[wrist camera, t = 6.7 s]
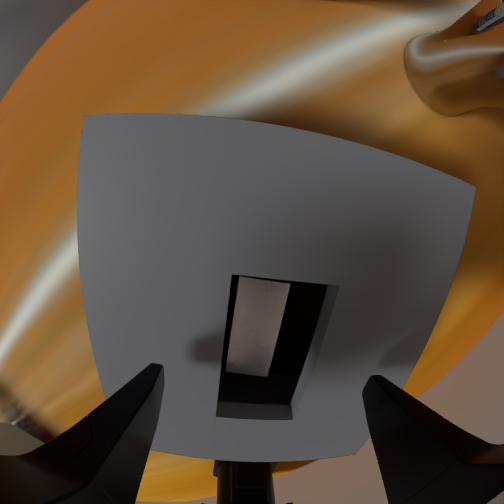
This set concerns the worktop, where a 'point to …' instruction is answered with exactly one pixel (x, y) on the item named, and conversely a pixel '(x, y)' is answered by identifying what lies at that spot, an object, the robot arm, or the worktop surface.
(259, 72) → the worktop surface
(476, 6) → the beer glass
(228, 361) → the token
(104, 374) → the coin box
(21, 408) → the worktop surface
